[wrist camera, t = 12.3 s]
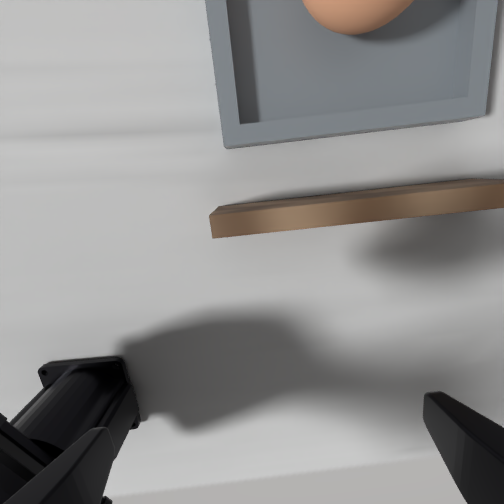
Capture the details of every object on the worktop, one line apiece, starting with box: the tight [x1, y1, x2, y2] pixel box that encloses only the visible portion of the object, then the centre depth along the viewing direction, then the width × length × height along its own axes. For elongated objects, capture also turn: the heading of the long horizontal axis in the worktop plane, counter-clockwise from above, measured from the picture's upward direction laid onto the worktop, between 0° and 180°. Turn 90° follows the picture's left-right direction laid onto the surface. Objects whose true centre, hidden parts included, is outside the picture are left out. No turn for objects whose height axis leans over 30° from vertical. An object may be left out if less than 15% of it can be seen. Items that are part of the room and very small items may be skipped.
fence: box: [209, 179, 504, 238], centre depth 16 cm, size 16×1×4 cm, turn 96°
